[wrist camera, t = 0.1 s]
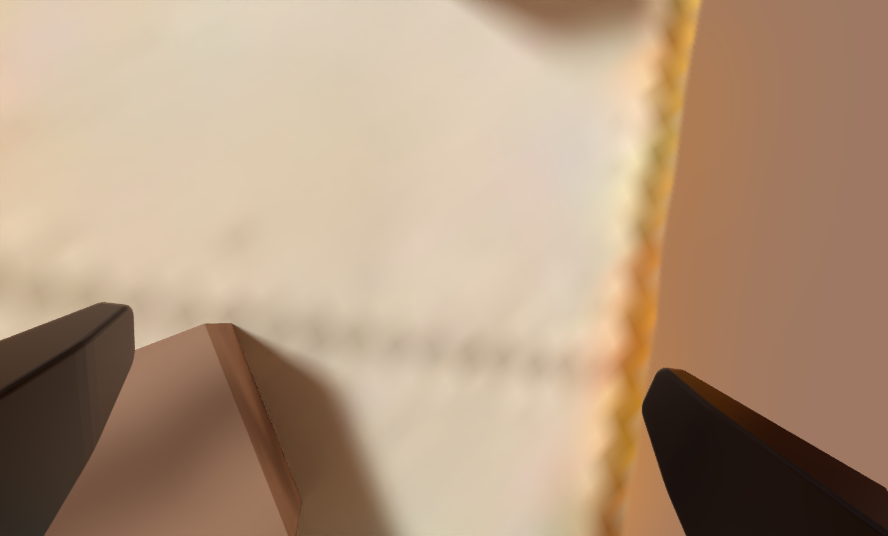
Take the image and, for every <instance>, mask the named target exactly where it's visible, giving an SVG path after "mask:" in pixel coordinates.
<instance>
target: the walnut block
mask: <svg viewBox="0 0 888 536" xmlns="http://www.w3.org/2000/svg"><path fill="white" fill-rule="evenodd" d="M301 504H302V500H301V498H300V495H299V493H298V490H297V487H296V485H295V482H294V480H293V477H292V475H291V472H290V470H289V467H288V465H287V462H286V460H285V457H284V455H283V452H282V450H281V447H280V444H279V442H278V439H277V437H276V434H275V432H274V429H273V427H272V424H271V422H270V419H269V417H268V414H267V412H266V409H265V407H264V404H263V402H262V399H261V396H260V394H259V391H258V389H257V386H256V384H255V381H254V379H253V376H252V374H251V371H250V369H249V366H248V364H247V361H246V359H245V356H244V353H243V351H242V348H241V346H240V343H239V341H238V338H237V336H236V333H235V331H234V328H233V326H232V323H220V324H202V325H200V326H197V327H195V328H192V329H189V330H187V331H184V332H182V333H179V334H176V335H174V336H171V337H168V338H166V339H163V340H161V341H158V342H155V343H153V344H150V345H148V346H145V347H142V348H140V349H137V350H135V354H134V359H133V363H132V366H131V368H130V371H129V373H128V375H127V377H126V380H125V382H124V384H123V387H122V389H121V391H120V393H119V396H118V398H117V400H116V403H115V405H114V407H113V409H112V412H111V414H110V416H109V419H108V421H107V423H106V425H105V428H104V430H103V432H102V434H101V437H100V439H99V441H98V443H97V445H96V447H95V450H94V452H93V453H92V455H91V457H90V459H89V461H88V462H87V464H86V466H85V468H84V469H83V471H82V473H81V474H80V476H79V478H78V480H77V481H76V483H75V485H74V486H73V488H72V490H71V491H70V493H69V495H68V496H67V498H66V500H65V502H64V503H63V505H62V507H61V508H60V510H59V512H58V513H57V515H56V517H55V518H54V520H53V522H52V524H51V525H50V527H49V529H48V530H47V532H46V534H45V535H44V536H296V531H297V526H298V520H299V515H300V509H301Z"/></svg>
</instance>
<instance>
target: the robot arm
mask: <svg viewBox="0 0 888 536" xmlns="http://www.w3.org/2000/svg"><path fill="white" fill-rule="evenodd" d="M134 354H135V341H134V315H133V311H132V308H131V307H130V306H128V305H124V304H115V303H107V302H101V303H97V304H95V305H92V306H90V307H87V308H84V309H82V310H79V311H77V312H74V313H71V314H69V315H66V316H63V317H61V318H58V319H56V320H53V321H50V322H48V323H45V324H43V325H40V326H37V327H35V328H32V329H29V330H27V331H24V332H22V333H19V334H16V335H14V336H11V337H9V338H6V339H3V340H1V341H0V536H44V535H45V534H46V532H47V530H48V529H49V527H50V525H51V524H52V522H53V520H54V518H55V517H56V515H57V513H58V512H59V510H60V508H61V507H62V505H63V503H64V502H65V500H66V498H67V496H68V495H69V493H70V491H71V490H72V488H73V486H74V485H75V483H76V481H77V480H78V478H79V476H80V474H81V473H82V471H83V469H84V468H85V466H86V464H87V462H88V461H89V459H90V457H91V455H92V453H93V452H94V450H95V447H96V445H97V443H98V441H99V439H100V437H101V434H102V432H103V430H104V428H105V425H106V423H107V421H108V419H109V416H110V414H111V412H112V409H113V407H114V405H115V403H116V400H117V398H118V396H119V393H120V391H121V389H122V387H123V384H124V382H125V380H126V377H127V375H128V373H129V371H130V368H131V366H132V363H133V359H134ZM642 415H643V419H644V422H645V425H646V428H647V431H648V434H649V437H650V440H651V444H652V447H653V450H654V453H655V456H656V459H657V462H658V465H659V469H660V472H661V475H662V478H663V481H664V483H665V487H666V489H667V492H668V495H669V497H670V499H671V502H672V504H673V506H674V509H675V511H676V514H677V516H678V518H679V520H680V523H681V525H682V528H683V530H684V532H685V535H686V536H888V491H887V489H886V488H885V487H883V486H882V485H880V484H878V483H876V482H875V481H873V480H871V479H870V478H868V477H866V476H864V475H863V474H861V473H859V472H858V471H856V470H854V469H852V468H851V467H849V466H847V465H846V464H844V463H842V462H840V461H839V460H837V459H835V458H834V457H832V456H830V455H828V454H827V453H825V452H823V451H822V450H819V449H818V448H816V447H815V446H813V445H811V444H810V443H808V442H806V441H804V440H803V439H801V438H799V437H798V436H796V435H794V434H792V433H791V432H789V431H787V430H786V429H784V428H782V427H780V426H778V425H777V424H775V423H773V422H772V421H770V420H768V419H767V418H765V417H763V416H762V415H760V414H758V413H757V412H755V411H753V410H751V409H750V408H748V407H746V406H744V405H743V404H741V403H739V402H738V401H736V400H734V399H732V398H731V397H729V396H727V395H726V394H724V393H722V392H720V391H719V390H717V389H715V388H714V387H712V386H710V385H708V384H707V383H705V382H703V381H702V380H700V379H698V378H696V377H695V376H693V375H691V374H689V373H688V372H686V371H684V370H681V369H673V368H662V369H660V370H659V371H658V372H657V373H656V375H655V377H654V380H653V381H652V383H651V386H650V388H649V390H648V392H647V394H646V396H645V399H644V401H643V404H642Z"/></svg>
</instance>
